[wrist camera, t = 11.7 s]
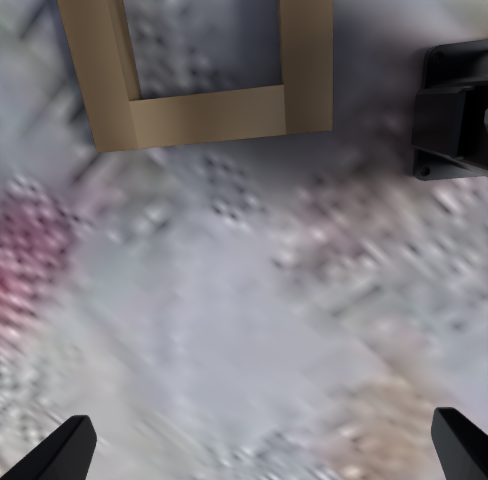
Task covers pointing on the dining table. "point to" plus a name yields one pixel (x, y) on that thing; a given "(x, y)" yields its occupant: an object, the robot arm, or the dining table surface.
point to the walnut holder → (206, 104)
